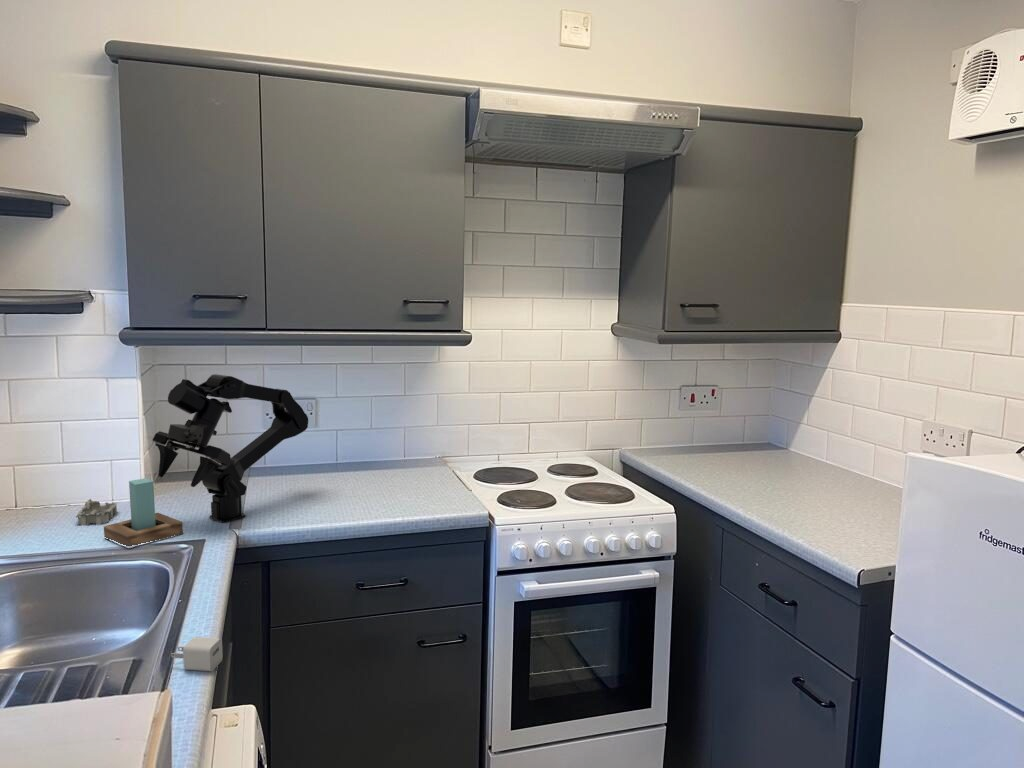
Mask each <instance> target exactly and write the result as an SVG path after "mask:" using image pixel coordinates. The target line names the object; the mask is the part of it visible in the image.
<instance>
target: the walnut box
mask: <svg viewBox="0 0 1024 768" xmlns="http://www.w3.org/2000/svg"><path fill="white" fill-rule="evenodd" d="M155 523H156V526H154V527H150V528H146V529H143V530H139V531H135V530H132V525H131V518H130V519H127V520H122V521H120V522H114V523H112V524H108V525H104V526H103V534H104V535H103V536H104V537H106V538H108V539H111V540H114V541H116V542H118V543H120V544H123V545H126V546H132V545H138V544H141V543H146V542H150V541H155V540H159V539H163V538H167V537H170V538H172V537H171V536H174V535H177V536H179V535H178V534H181V533H183V534H184V529H183V527H184V526H183V525H184V523H183V521H182V520H179V519H176V518H173V517H171V516H169V515H166V514H162V513H161V512H155ZM181 535H182V534H181ZM174 537H175V536H174ZM167 539H168V538H167ZM163 540H164V539H163Z"/></svg>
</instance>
